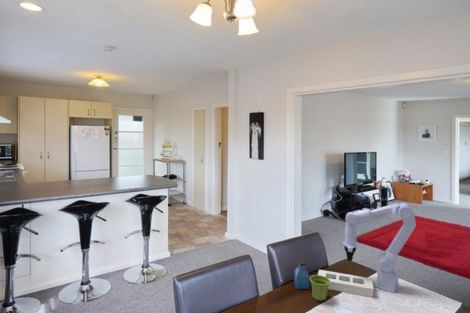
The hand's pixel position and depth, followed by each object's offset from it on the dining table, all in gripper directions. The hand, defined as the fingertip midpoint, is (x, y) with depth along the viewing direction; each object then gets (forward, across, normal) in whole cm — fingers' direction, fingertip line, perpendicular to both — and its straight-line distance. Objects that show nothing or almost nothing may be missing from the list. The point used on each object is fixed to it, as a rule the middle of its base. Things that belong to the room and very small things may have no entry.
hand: (349, 260), depth 161 cm
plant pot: (+11, +25, -13) cm, 30 cm away
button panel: (+10, +9, -2) cm, 14 cm away
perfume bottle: (+11, +17, -22) cm, 30 cm away
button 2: (+10, +9, +4) cm, 14 cm away
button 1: (+10, +9, -9) cm, 16 cm away
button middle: (+10, +9, -2) cm, 14 cm away
